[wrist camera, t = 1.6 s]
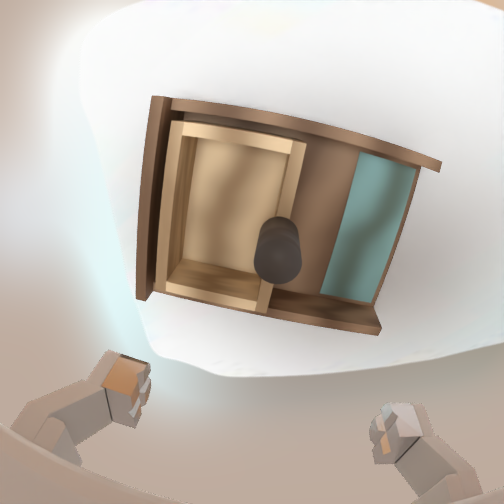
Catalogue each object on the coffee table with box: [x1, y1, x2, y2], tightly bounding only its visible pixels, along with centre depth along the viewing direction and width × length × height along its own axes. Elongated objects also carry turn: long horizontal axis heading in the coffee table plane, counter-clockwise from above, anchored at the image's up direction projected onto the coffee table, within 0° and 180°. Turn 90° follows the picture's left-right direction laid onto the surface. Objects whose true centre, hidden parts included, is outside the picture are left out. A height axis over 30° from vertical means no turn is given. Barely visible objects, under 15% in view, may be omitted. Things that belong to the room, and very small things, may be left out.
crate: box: [155, 120, 307, 313], centre depth 25 cm, size 11×14×11 cm
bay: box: [136, 96, 442, 336], centre depth 28 cm, size 24×18×7 cm
